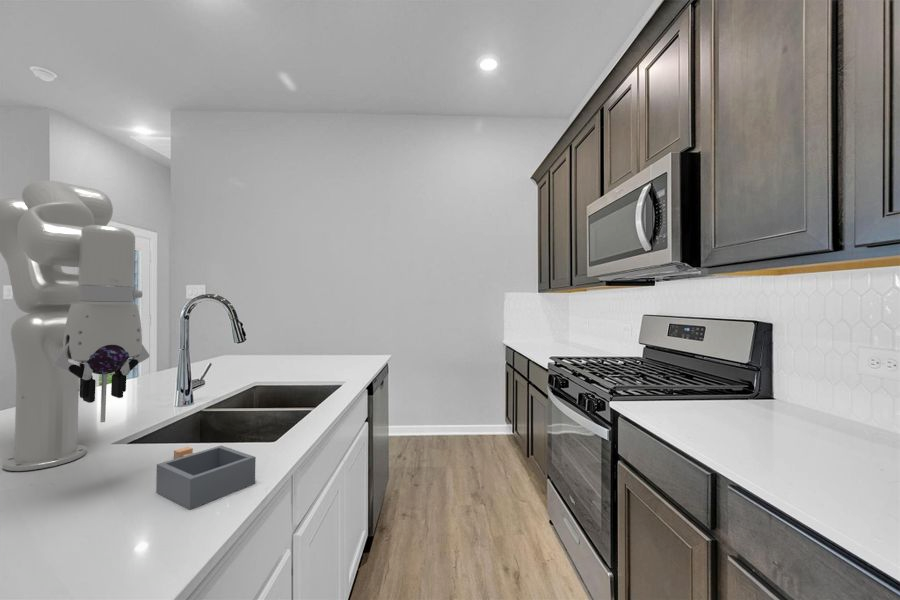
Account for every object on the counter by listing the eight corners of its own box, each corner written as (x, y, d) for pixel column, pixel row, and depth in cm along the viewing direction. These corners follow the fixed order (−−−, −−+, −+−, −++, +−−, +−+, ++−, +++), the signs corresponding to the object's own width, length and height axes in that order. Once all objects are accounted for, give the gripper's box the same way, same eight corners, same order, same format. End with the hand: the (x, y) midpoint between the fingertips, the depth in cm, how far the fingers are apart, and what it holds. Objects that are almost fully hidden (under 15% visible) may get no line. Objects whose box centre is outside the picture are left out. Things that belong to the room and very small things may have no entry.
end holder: (156, 492, 72) (156, 464, 72) (220, 470, 81) (221, 445, 81) (189, 509, 66) (190, 479, 66) (255, 483, 75) (255, 456, 76)
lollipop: (122, 414, 76) (124, 335, 76) (131, 422, 72) (134, 338, 72) (73, 421, 71) (76, 337, 71) (80, 430, 67) (83, 340, 67)
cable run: (171, 457, 88) (171, 447, 88) (191, 453, 90) (191, 443, 90) (186, 481, 76) (186, 470, 76) (209, 476, 79) (209, 464, 79)
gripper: (150, 296, 80) (147, 388, 80) (34, 294, 66) (31, 405, 66) (168, 297, 76) (165, 393, 76) (50, 295, 62) (46, 413, 62)
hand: (103, 398), depth 71 cm, fingers closed on lollipop, 3 cm apart
